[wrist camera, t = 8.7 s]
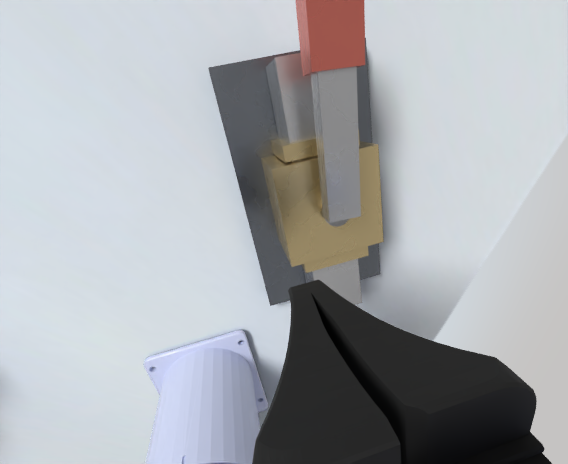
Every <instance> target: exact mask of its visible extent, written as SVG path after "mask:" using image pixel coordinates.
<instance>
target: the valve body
mask: <svg viewBox="0 0 568 464" xmlns="http://www.w3.org/2000/svg"><path fill="white" fill-rule="evenodd" d="M209 72H210V76H211V80H212V84H213V88H214V91H215V95H216V99H217V103H218V107H219V111H220V114H221V118H222V122H223V126H224V130H225V134H226V137H227V141H228V145H229V149H230V153H231V157H232V160H233V164H234V168H235V172H236V176H237V179H238V183H239V187H240V191H241V195H242V199H243V202H244V206H245V210H246V214H247V218H248V222H249V225H250V229H251V233H252V237H253V241H254V245H255V248H256V252H257V256H258V260H259V264H260V268H261V271H262V275H263V279H264V283H265V287H266V290H267V294H268V298H269V302H270V306H271V305H275V304H278V303H282V302H285V301H289V300H290V297H289V293H288V290H289V288H290V287H294V286H297V285H301V284H304V283H308V282H311V281H315V280H318V279H319V280H320V281H322V282H323V283H324V284H326V285H327V286H328V287H330V288H331V289H332V290H334V291H335V292H336V293H338V294H339V295H340V296H342V297H343V298H345V299H346V300H348V301H349V302H351V303H352V304H354V305H356V304H359V303H362V297H361V286H360V280H361V279H364V278H368V277H371V276H375V275H378V274H380V262H379V246H378V243H381V242H383V224H382V205H381V187H380V168H379V149H378V144H373V143H372V132H371V116H370V99H369V83H368V67H367V51H366V38H365V65H364V66H361V67H358V68H357V101H358V135H359V170H360V204H361V216H360V217H355V218H350V219H349V220H348V221H347V222H346V223H345V224H344V225H342V226H338V227H336V226H332V225H330V224H329V223H328V222H327V221H326V220H325V219H324V218H323V216H322V201H321V189H320V178H319V166H318V154H317V143H316V131H315V120H314V108H313V96H312V85H311V75H308V76H303V72H302V62H301V51H294V52H289V53H284V54H279V55H273V56H268V57H263V58H258V59H252V60H247V61H242V62H237V63H231V64H226V65H221V66H215V67H210V68H209Z"/></svg>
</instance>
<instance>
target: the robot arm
mask: <svg viewBox="0 0 568 464" xmlns="http://www.w3.org/2000/svg"><path fill="white" fill-rule="evenodd" d="M288 293H289V297H290V302H291V326H290V335H289V342H288V348H287V353H286V358H285V362H284V366H283V370H282V374H281V377H280V381H279V384H278V387H277V390H276V392H275V395H274V398H273V401H272V403H271V406H270V409H269V411H268V414H267V416H266V418H265V420H264V423H263V425H262V427H261V429H260V424H259V416H258V412H261V411H264V410H266V409H267V408H268V402H267V399H266V396H265V392H264V389H263V386H262V383H261V380H260V377H259V374H258V371H257V368H256V364H255V361H254V358H253V355H252V352H251V349H250V346H249V343H248V340H247V336H246V333H245V332H244V331H242V330H238V331H234V332H231V333H228V334H224V335H221V336H217V337H214V338H211V339H207V340H204V341H201V342H197V343H194V344H190V345H187V346H184V347H180V348H177V349H174V350H170V351H167V352H163V353H160V354H157V355H153V356H150V357H147V358H146V359H145V361H144V364H143V365H144V368H145V369H146V371H147V373H148V375H149V377H150V378H151V380H152V382H153V384H154V386H155V388H156V389H157V391H158V393H159V395H160V397H159V402H158V406H157V411H156V416H155V420H154V425H153V430H152V434H151V439H150V444H149V448H148V453H147V458H146V462H145V464H552V463H551V462H550V461H549V460H548V459H547V458H546V457H545V456H544V455H543V454H542V452H543V451H544V447H543V445H542V444H541V443H540V442H539V441H538V440H537V439H536V438H535V437H534V436H533V435H532V433H531V432H530V429H531V425H532V421H533V418H534V414H535V409H536V396H535V393H534V390H533V389H532V388H531V387H530V386H528V385H527V384H526V383H525V382H524V381H523V380H522V379H521V378H520V377H518V376H517V375H516V374H515V373H514V372H513V371H512V370H511V369H509V368H508V367H507V366H506V365H504V364H503V363H502V362H501V361H499V360H498V359H497V358H495V357H491V356H487V355H483V354H478V353H474V352H470V351H465V350H461V349H457V348H454V347H450V346H447V345H444V344H440V343H437V342H434V341H431V340H428V339H425V338H422V337H419V336H417V335H414V334H411V333H409V332H406V331H404V330H401V329H399V328H396V327H394V326H392V325H390V324H388V323H386V322H384V321H382V320H379V319H377V318H376V317H374V316H372V315H370V314H369V313H367V312H365V311H363V310H362V309H360V308H358V307H357V306H355V305H354V304H352V303H351V302H349V301H348V300H346V299H345V298H343V297H342V296H340V295H339V294H338V293H336V292H335V291H334V290H332V289H331V288H330V287H328V286H327V285H326V284H324V283H323V282H322V281H320V280H319V279H318V280H315V281H311V282H308V283H304V284H301V285H297V286H294V287H290V288H289V290H288ZM240 340H243V341H242V342H239V341H240ZM151 367H155V368H151Z"/></svg>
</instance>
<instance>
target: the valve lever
mask: <svg viewBox="0 0 568 464" xmlns="http://www.w3.org/2000/svg"><path fill="white" fill-rule="evenodd" d="M296 10H297V20H298V31H299V41H300V51H301V62H302V72H303V76H308V75H311V85H312V96H313V108H314V120H315V131H316V143H317V154H318V166H319V178H320V189H321V201H322V216H323V218H324V219H325V220H326V221H327V222H328V223H329V224H330V225H332V226H336V227H338V226H342V225H344V224H345V223H346V222H347V221H348V220H349V219H350V218H355V217H360V216H361V204H360V170H359V135H358V101H357V68H358V67H361V66H364V65H365V22H364V0H296Z"/></svg>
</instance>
